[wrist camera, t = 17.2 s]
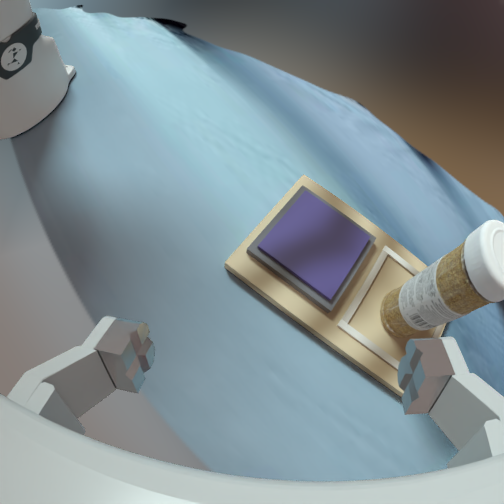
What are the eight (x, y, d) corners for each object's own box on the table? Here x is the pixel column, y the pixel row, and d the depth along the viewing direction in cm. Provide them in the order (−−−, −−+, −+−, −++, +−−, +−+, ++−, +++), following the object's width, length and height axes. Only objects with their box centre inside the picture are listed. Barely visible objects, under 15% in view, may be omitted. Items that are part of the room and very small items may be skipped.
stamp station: (224, 267, 27) (225, 256, 24) (301, 181, 31) (306, 166, 29) (403, 398, 23) (418, 398, 21) (450, 296, 28) (464, 288, 25)
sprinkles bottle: (426, 310, 25) (533, 253, 13) (403, 349, 24) (521, 309, 12) (394, 279, 26) (491, 202, 14) (368, 316, 25) (474, 253, 12)
